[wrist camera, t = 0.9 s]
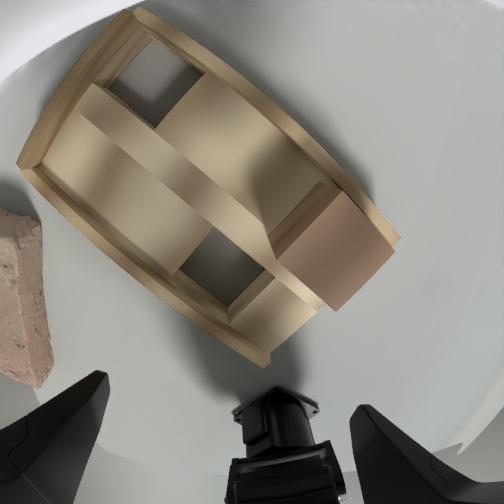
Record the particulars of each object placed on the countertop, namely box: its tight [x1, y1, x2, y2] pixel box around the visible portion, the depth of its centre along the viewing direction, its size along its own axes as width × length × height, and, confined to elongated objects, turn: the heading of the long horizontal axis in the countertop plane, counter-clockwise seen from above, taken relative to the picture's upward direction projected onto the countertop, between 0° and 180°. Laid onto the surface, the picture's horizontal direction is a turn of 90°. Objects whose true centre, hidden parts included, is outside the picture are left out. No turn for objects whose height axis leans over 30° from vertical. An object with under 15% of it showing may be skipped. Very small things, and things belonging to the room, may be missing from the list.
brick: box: [0, 207, 54, 390], centre depth 18 cm, size 17×8×5 cm, turn 165°
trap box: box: [16, 7, 400, 369], centre depth 16 cm, size 22×13×4 cm, turn 48°
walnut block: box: [267, 182, 395, 311], centre depth 16 cm, size 4×4×4 cm
